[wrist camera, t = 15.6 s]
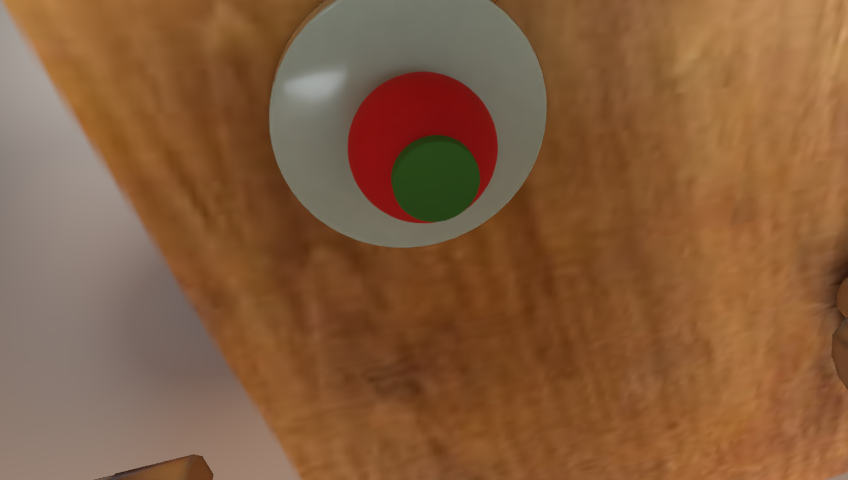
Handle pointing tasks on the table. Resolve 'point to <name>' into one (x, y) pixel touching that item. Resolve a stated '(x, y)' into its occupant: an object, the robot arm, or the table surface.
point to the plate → (383, 60)
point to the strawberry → (422, 147)
